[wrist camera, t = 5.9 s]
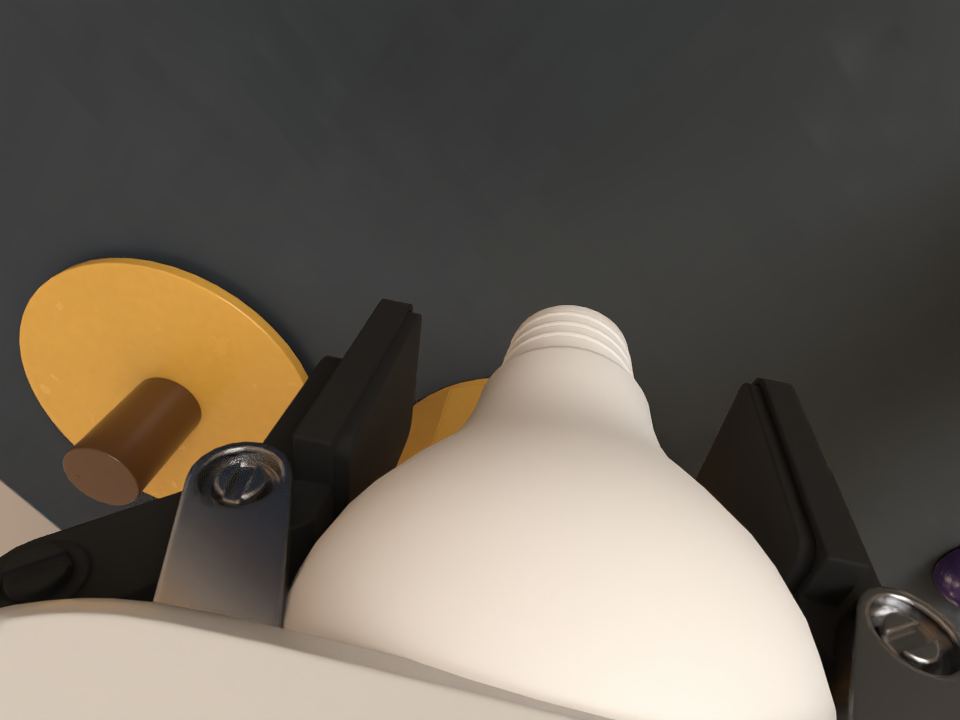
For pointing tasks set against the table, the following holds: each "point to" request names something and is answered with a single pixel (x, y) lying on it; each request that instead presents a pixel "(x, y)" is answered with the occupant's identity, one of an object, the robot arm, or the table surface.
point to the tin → (441, 415)
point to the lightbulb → (565, 555)
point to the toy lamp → (948, 577)
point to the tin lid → (150, 373)
